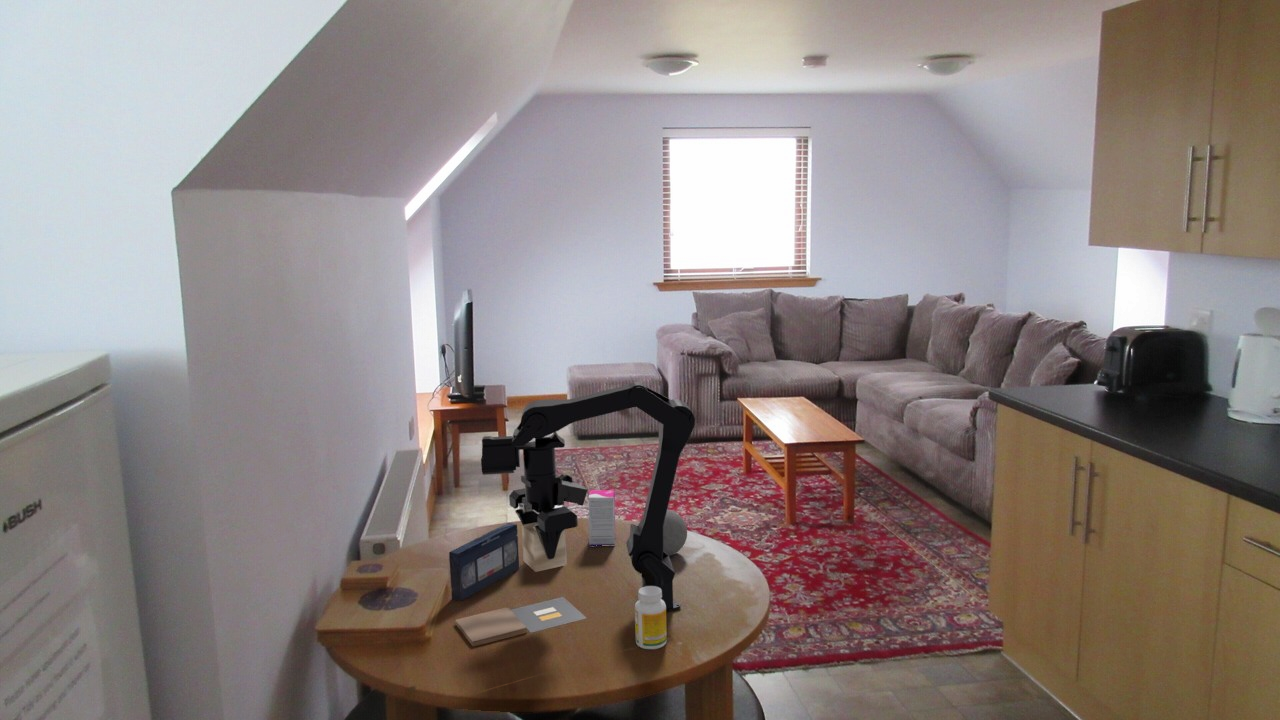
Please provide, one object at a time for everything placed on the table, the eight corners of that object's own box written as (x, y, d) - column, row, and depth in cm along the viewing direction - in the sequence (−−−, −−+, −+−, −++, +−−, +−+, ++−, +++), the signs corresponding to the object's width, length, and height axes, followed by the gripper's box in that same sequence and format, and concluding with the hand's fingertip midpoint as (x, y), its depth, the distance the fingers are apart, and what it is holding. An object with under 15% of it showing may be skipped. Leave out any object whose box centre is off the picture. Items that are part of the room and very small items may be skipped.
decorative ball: (697, 554, 196) (696, 509, 194) (663, 567, 189) (661, 521, 188) (665, 542, 203) (664, 499, 202) (632, 554, 197) (630, 510, 195)
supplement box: (615, 546, 202) (613, 497, 200) (588, 547, 202) (586, 497, 200) (616, 537, 208) (614, 489, 206) (590, 538, 208) (588, 489, 206)
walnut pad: (527, 632, 162) (526, 627, 162) (472, 646, 157) (472, 641, 157) (507, 612, 171) (507, 607, 170) (455, 624, 166) (455, 619, 166)
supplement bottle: (629, 643, 156) (627, 591, 155) (650, 632, 160) (648, 581, 159) (652, 653, 153) (650, 599, 151) (673, 641, 157) (671, 589, 155)
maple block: (566, 565, 166) (564, 528, 165) (535, 572, 163) (533, 534, 162) (553, 554, 171) (551, 519, 170) (523, 561, 169) (521, 525, 167)
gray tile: (586, 618, 167) (586, 618, 167) (530, 633, 162) (530, 632, 162) (563, 597, 176) (563, 596, 176) (509, 610, 171) (509, 609, 171)
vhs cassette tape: (460, 602, 176) (457, 553, 174) (449, 599, 177) (446, 551, 176) (521, 569, 191) (519, 524, 189) (510, 567, 193) (508, 522, 191)
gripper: (602, 476, 160) (606, 560, 163) (560, 453, 176) (564, 530, 179) (543, 487, 155) (548, 573, 157) (506, 462, 171) (510, 541, 174)
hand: (544, 553), depth 167 cm, fingers closed on maple block, 6 cm apart
